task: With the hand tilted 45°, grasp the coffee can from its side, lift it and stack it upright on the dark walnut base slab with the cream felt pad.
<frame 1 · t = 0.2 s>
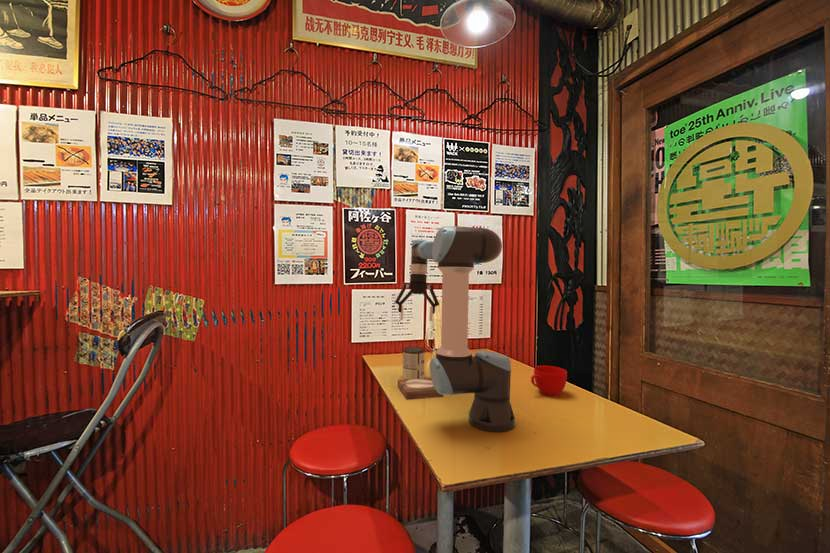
hand: (416, 320, 162), 28 cm above the table, tool pointing down, fingers open, 13 cm apart
ceramic cup: (546, 394, 148), on the table
base: (419, 391, 147), on the table
coffee can: (413, 379, 164), on the table
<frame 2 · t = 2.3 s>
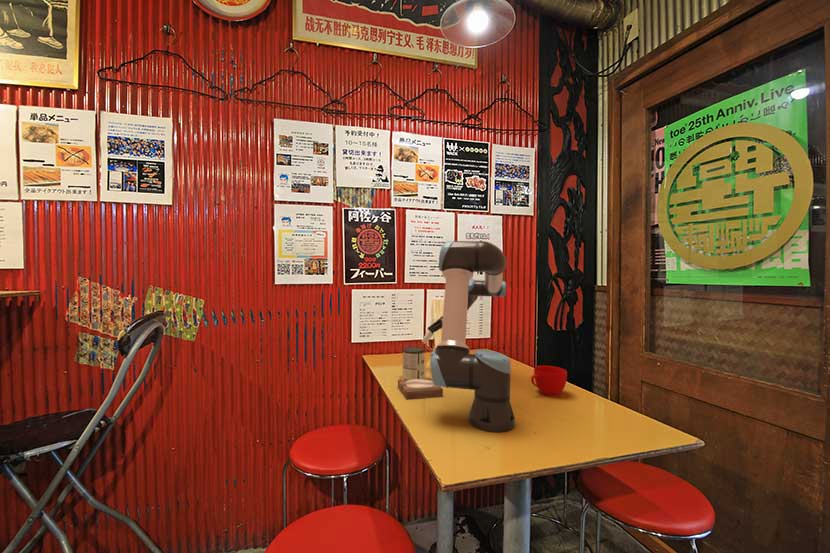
hand: (430, 345, 169), 15 cm above the table, tool tilted 45°, fingers open, 13 cm apart
nothing on the table moved.
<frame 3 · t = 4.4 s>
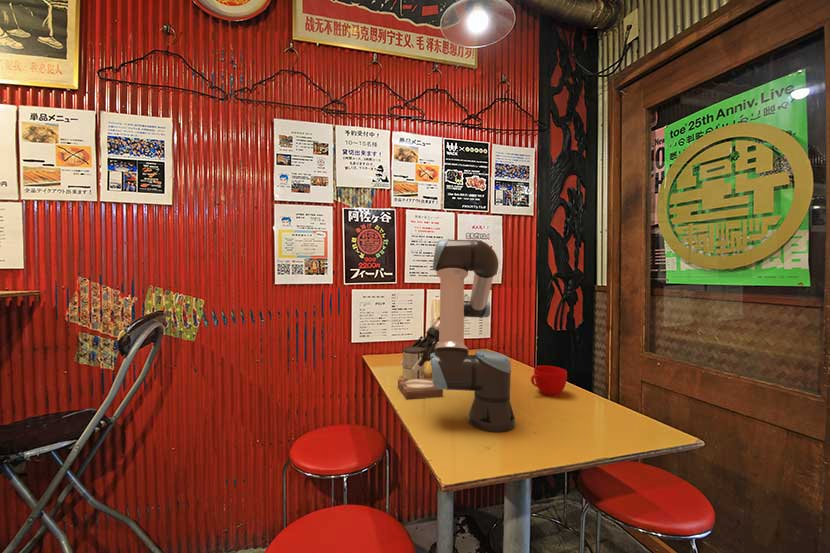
hand: (407, 367, 163), 6 cm above the table, tool tilted 45°, fingers closed on coffee can, 10 cm apart
coffee can: (413, 379, 164), on the table, touching gripper
everything else where it was.
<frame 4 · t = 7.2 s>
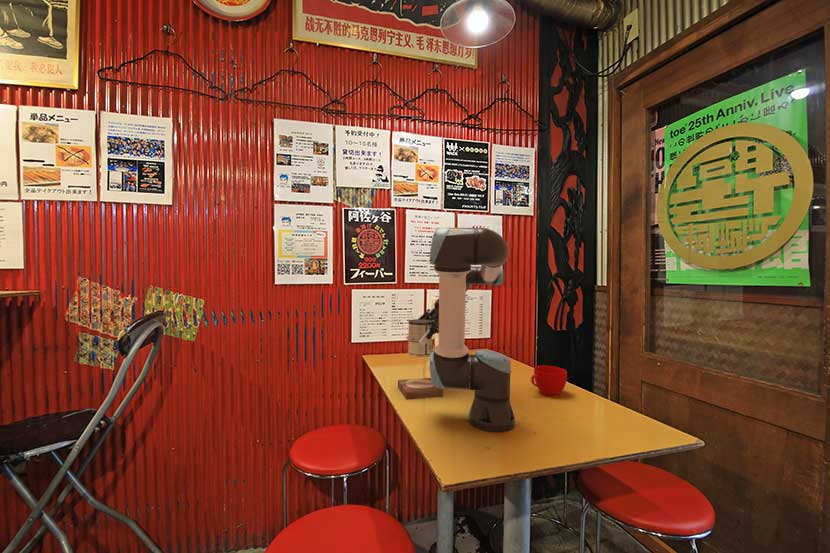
hand: (414, 341, 147), 21 cm above the table, tool tilted 45°, fingers closed on coffee can, 10 cm apart
coffee can: (420, 354, 148), point 15 cm above the table, touching gripper
everything else where it was.
when the fingers open (10 cm above the table, at t = 10.0 s): coffee can drops 1 cm, resting on base.
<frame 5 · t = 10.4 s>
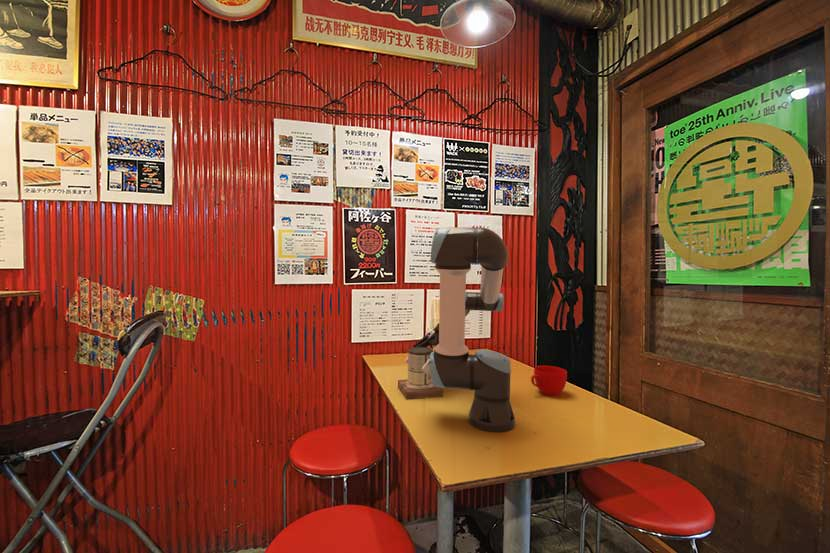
hand: (415, 366, 146), 11 cm above the table, tool tilted 45°, fingers open, 13 cm apart
coffee can: (419, 383, 147), point 3 cm above the table, touching base
everything else where it was.
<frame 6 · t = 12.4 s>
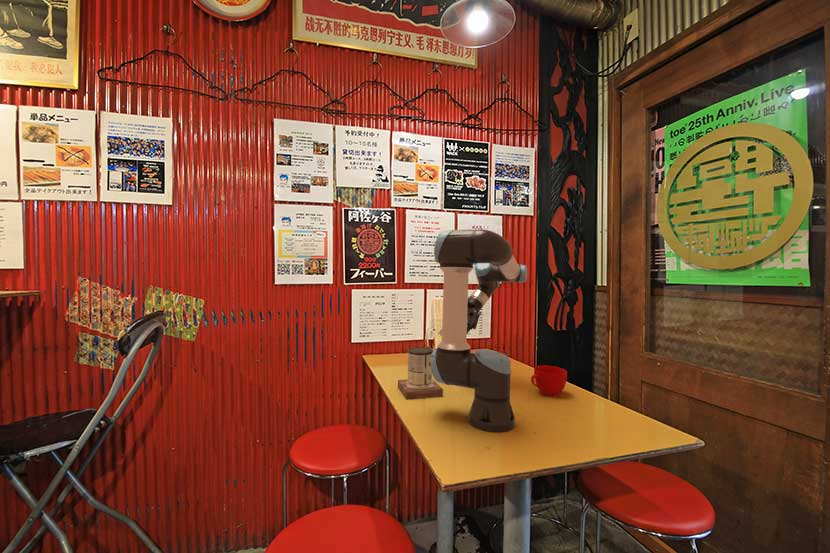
hand: (448, 336, 154), 22 cm above the table, tool tilted 45°, fingers open, 13 cm apart
nothing on the table moved.
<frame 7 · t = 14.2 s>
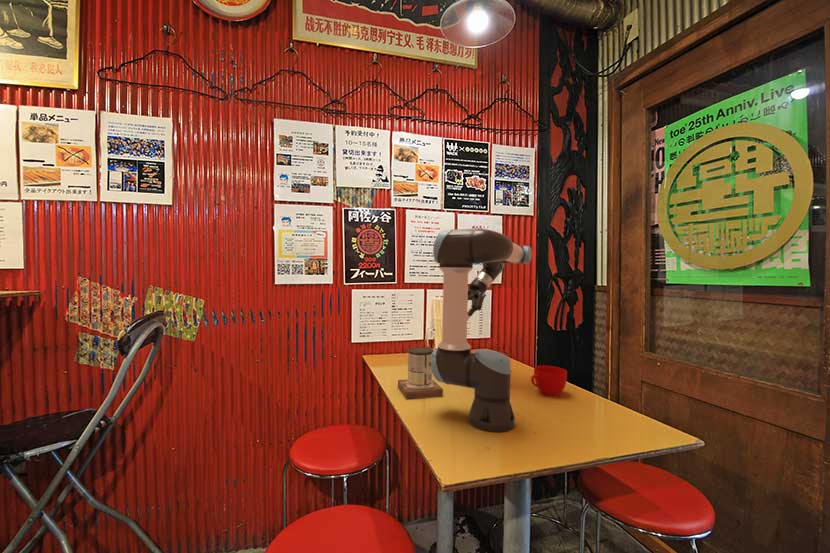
hand: (453, 318, 155), 30 cm above the table, tool tilted 45°, fingers open, 13 cm apart
nothing on the table moved.
at the end: coffee can inside the target area on the base (0.1 cm from its centre), point 3.2 cm above the base's base; coffee can tilted 0°; the gripper is holding nothing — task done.
